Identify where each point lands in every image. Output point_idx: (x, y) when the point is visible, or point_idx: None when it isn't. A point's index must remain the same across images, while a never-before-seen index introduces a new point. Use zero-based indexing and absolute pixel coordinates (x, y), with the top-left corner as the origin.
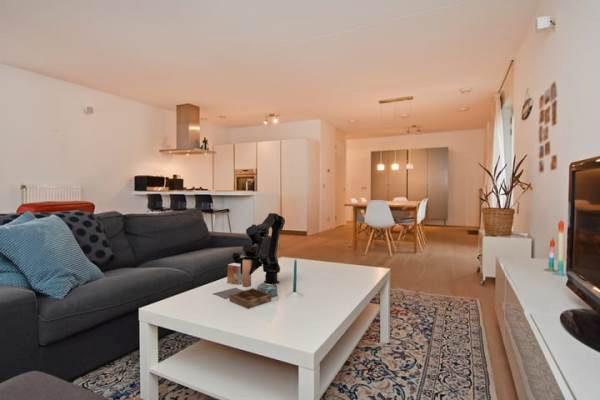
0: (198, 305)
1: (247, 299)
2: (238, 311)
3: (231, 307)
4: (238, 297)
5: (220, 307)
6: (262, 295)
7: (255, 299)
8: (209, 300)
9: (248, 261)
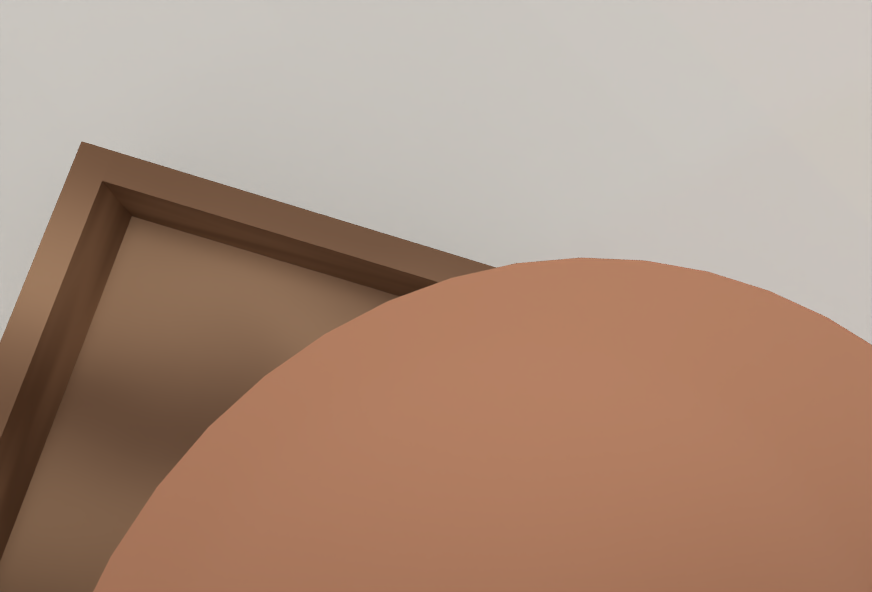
0: (826, 22)
1: None
2: (211, 77)
3: (399, 156)
4: (379, 254)
5: (534, 89)
6: None
7: (19, 313)
8: (857, 234)
9: (174, 497)
